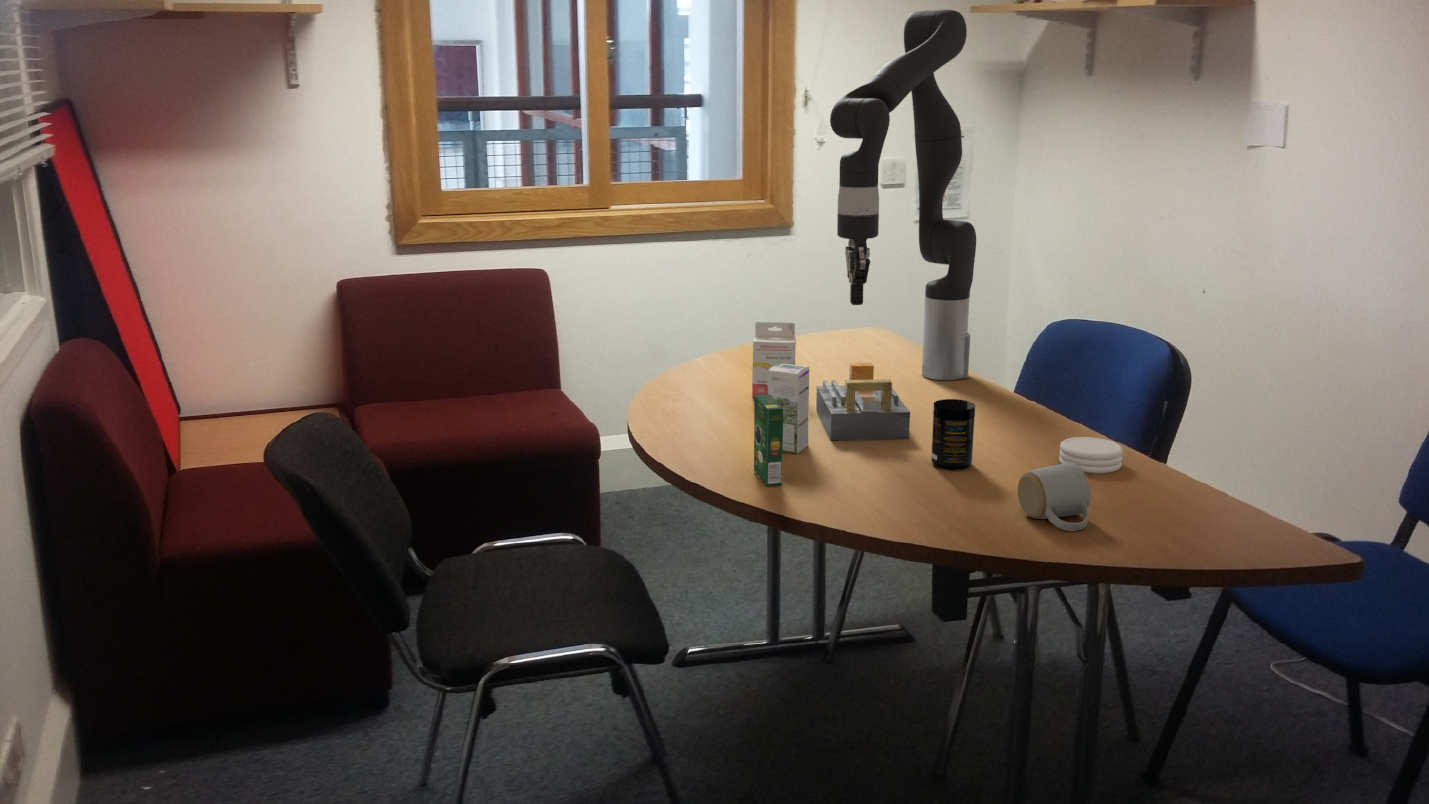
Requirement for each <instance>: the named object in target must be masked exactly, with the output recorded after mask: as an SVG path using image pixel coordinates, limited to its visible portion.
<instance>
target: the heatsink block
mask: <svg viewBox="0 0 1429 804" xmlns="http://www.w3.org/2000/svg"><path fill="white" fill-rule="evenodd" d="M844 384H845V385H839V384H838V381H837V380H835V379H834V380H832V379H831V383H829V381H828V380H827V379H826V380H822V385H819V386H818V385H816V404H815V405H816V407H815V411H816V414H817V415H818V419H819V420H820V422H821V424H822V426H823V428H824V430H825V433H826V434H827V436H828V438H829V441H832V442H833V441H834V442H836V441H881V440H883V441H884V440H886V441H887V440H892V441H893V440H910V427H911V426H910V425H911V424H910V423H911V422H910V421H911V420H910V419H911V411H910V409H908V407H907V406H906V405H905V403H904V402H903V401H902V400H901V397H899V395H898V393H897V392H896V391H895V389H894V388H893V381H892V380H891V379H886V378H885V379H884V378H883V379H873V380H849V379H846V380H845V381H844ZM855 391H874V393H875V394H876V396H877V397H878V399H879V400H880V412H862V410H861V408H860V407H859V405H858V404H857V402H856V400H855Z"/></svg>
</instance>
